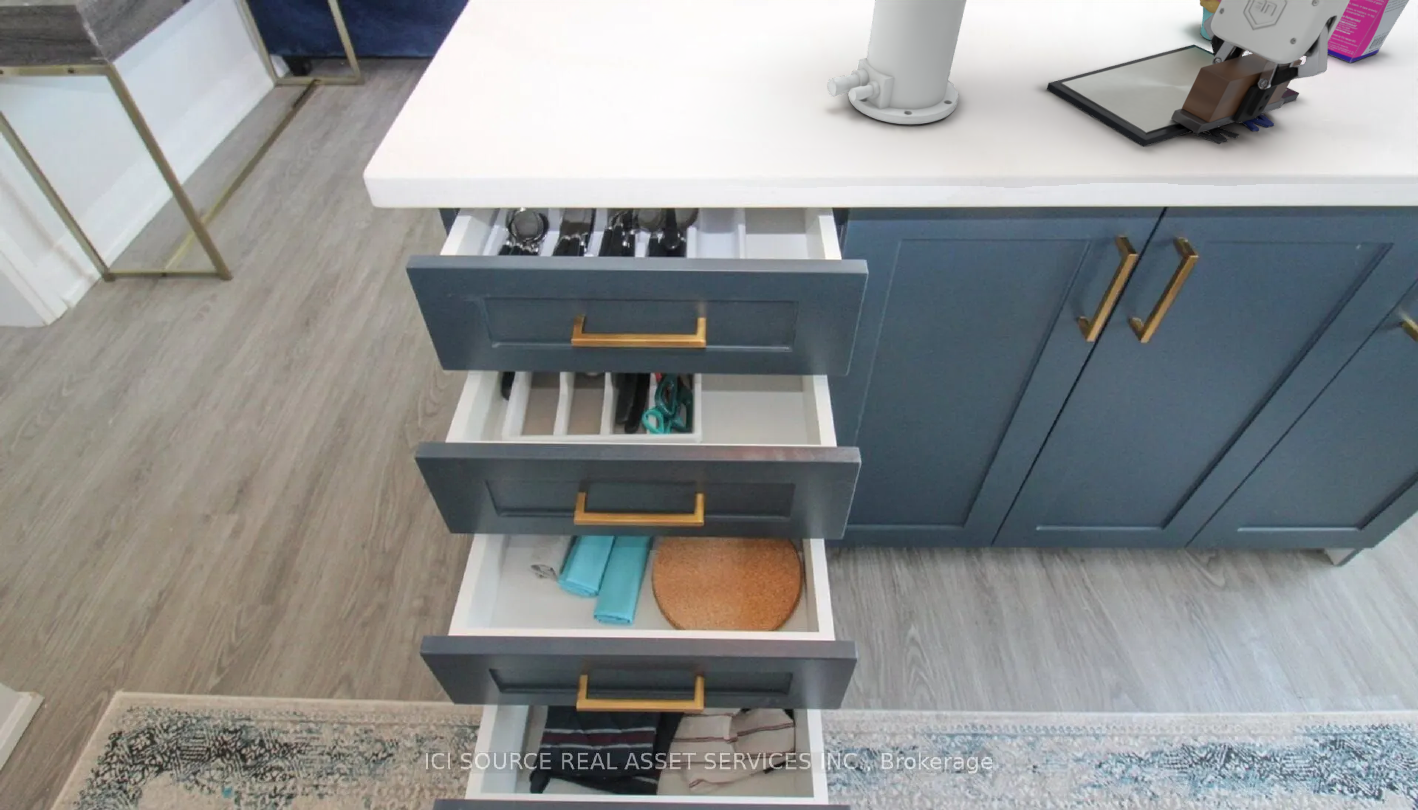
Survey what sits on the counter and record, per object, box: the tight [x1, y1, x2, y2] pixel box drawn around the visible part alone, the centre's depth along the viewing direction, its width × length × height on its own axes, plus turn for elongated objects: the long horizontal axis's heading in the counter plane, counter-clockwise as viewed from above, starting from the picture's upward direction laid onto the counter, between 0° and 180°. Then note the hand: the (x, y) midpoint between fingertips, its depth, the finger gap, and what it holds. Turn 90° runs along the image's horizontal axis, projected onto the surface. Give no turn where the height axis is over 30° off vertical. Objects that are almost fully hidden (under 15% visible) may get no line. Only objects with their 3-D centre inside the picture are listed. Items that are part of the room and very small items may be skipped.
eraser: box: [1171, 53, 1303, 133], centre depth 82 cm, size 13×4×6 cm, turn 115°
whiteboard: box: [1046, 43, 1300, 147], centre depth 89 cm, size 24×15×1 cm, turn 115°
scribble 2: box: [1241, 113, 1275, 132], centre depth 84 cm, size 4×3×1 cm
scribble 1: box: [1192, 126, 1240, 145], centre depth 83 cm, size 4×3×1 cm
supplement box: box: [1327, 0, 1410, 64], centre depth 92 cm, size 6×6×12 cm
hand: (1227, 109), depth 83 cm, fingers closed on eraser, 3 cm apart
